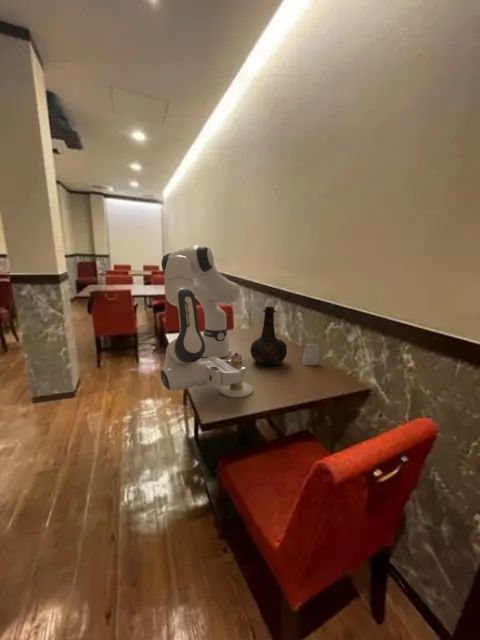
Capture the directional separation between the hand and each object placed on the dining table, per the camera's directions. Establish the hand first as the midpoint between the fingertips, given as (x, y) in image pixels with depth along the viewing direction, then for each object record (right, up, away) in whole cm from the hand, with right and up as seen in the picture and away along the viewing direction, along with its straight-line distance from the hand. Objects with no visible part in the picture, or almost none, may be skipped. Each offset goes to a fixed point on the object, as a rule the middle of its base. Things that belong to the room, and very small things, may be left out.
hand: (238, 365), depth 120 cm
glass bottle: (+14, -4, +34) cm, 37 cm away
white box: (+35, -4, +34) cm, 49 cm away
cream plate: (-1, -10, +2) cm, 10 cm away
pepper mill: (-1, -9, +1) cm, 9 cm away
